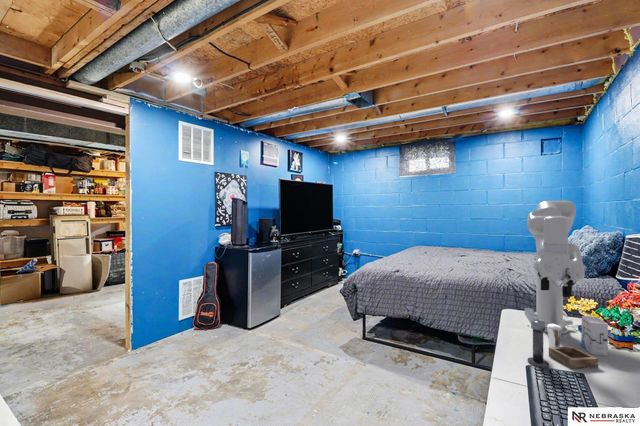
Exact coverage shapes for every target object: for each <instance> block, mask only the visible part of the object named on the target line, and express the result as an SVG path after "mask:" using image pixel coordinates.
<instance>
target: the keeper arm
mask: <svg viewBox="0 0 640 426" xmlns="http://www.w3.org/2000/svg"><path fill="white" fill-rule="evenodd" d="M524 315H525V317H526V319H527V320H528V321H529V324H530V329H532V330H533V329H534V330H537V331H543V332H544V331H545V322H544V321H541V320H540V318H539V317H538V316H537V314H536V312H535V311H534V309H533V308H531V307H530V308H529V307H524Z"/></svg>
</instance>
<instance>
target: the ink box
mask: <svg viewBox="0 0 640 426" xmlns="http://www.w3.org/2000/svg"><path fill="white" fill-rule="evenodd" d="M608 325H609V324H608V323H607V322H605V321H603V320H602V319H601V318H599V317H598V316H590V315H589V316H588V315H582V316H581V340H580V342H581V343H580V345H581V346H582V347H583V348H585V350H587V351H588V353H590V355H595V356H603V357H604V356H605V357H608V343H609V339H608V335H609V334H608V333H609V330H608V329H609V327H608Z"/></svg>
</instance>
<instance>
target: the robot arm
mask: <svg viewBox="0 0 640 426" xmlns="http://www.w3.org/2000/svg"><path fill="white" fill-rule="evenodd" d="M535 209H536V210H533V211H531V212H529V214H528V215H527V219H526V225H527V230H528V231H529V233H531V235H532V237H533V238H534V240H535V249H536V255H537V258H538V259H536V260H535V261H534V263H533V270H534V276H535V282H536V283H535V285H536V287H535V288H536V292H535V293H536V303H535V304H536V308H535V309H536V312H535V313H536V314H537V316H538V317H539V318H540V320H541V321H544V322H545V331H543V333H544V332H545V333H548V331H547V325H548V324H556V325H558V326H560V327H561V326H562V324H563V323H564V324H563V326H562V332H561V335H564V334H567V333H568V328H567V327H566V326H572V325H573V324H574V322H573V321H572V320H570V319H569V320H565V319H564V298H571V297H572V296H573V291H572V289H573V288H572V287H574V286H575V284H576V283H579V282H582V281H583V280H584V279H585V278H586V276H585V275H586V272H585V266H584V261H583V257H582V252H581V249H580V248H579V246H578V245H577V244H575V243H571V242H569V233H570V231H571V230H572V227H573V225H574V221H575V219H576V214H577V207H576V204H575V203H574V202H573V201H571V200H544V201H542V202H541V201H540V203H538V204H537V206H536V208H535ZM558 281H559V282H560V281H561V282H562V284H563V285H562V287H561V286H560V285H559V284H558Z"/></svg>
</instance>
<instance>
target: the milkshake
mask: <svg viewBox="0 0 640 426" xmlns="http://www.w3.org/2000/svg"><path fill="white" fill-rule="evenodd" d="M563 324H564V323H563ZM563 324H562V326H563ZM562 326H561V327H560V326H558V325H556V324H548V325H547V331H548V332H547V338H548V348H549V347H561V341H562V334H561V332H562Z"/></svg>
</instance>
